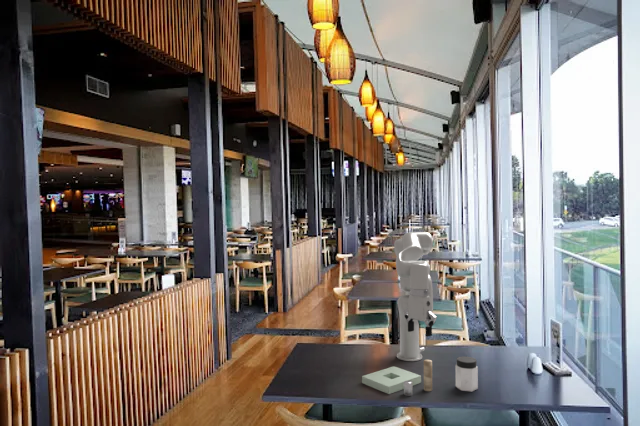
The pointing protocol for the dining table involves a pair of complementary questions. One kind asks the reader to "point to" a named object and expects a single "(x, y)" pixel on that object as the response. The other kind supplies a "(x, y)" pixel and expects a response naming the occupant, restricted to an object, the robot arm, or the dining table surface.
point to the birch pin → (427, 375)
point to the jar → (466, 374)
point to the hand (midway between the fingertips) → (419, 333)
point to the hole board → (390, 379)
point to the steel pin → (408, 388)
